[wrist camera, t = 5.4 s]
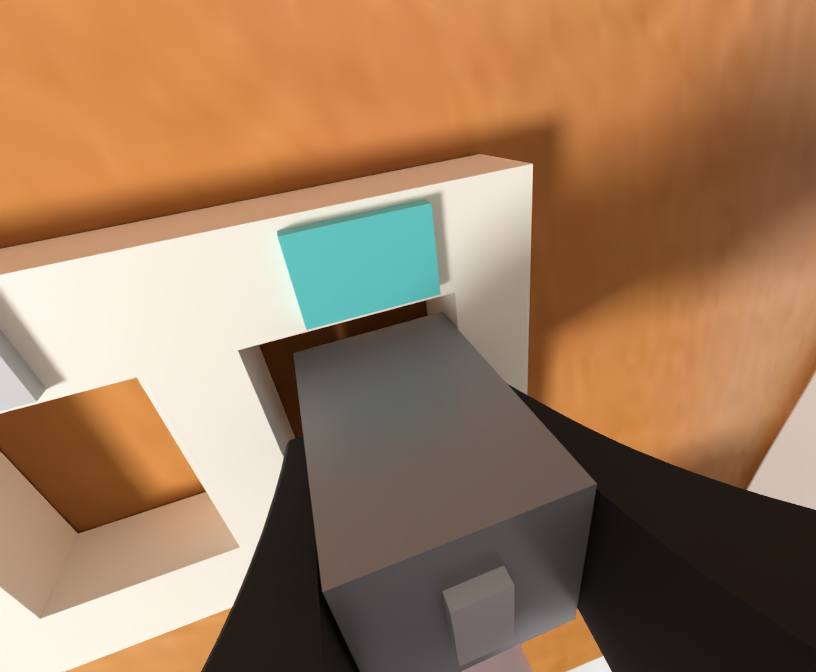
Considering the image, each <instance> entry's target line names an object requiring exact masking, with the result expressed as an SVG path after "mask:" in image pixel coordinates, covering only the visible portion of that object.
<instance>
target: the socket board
mask: <svg viewBox="0 0 816 672" xmlns="http://www.w3.org/2000/svg"><path fill="white" fill-rule="evenodd" d="M532 182H533V164H532V163H527V162H521V161H516V160H511V159H505V158H500V157H494V156H489V155H484V154H477V155H472V156H467V157H462V158H457V159H452V160H447V161H442V162H437V163H432V164H427V165H422V166H416V167H411V168H406V169H401V170H396V171H391V172H386V173H381V174H376V175H371V176H366V177H361V178H356V179H351V180H346V181H341V182H336V183H330V184H325V185H320V186H315V187H310V188H305V189H300V190H295V191H290V192H285V193H280V194H275V195H270V196H265V197H260V198H255V199H250V200H244V201H239V202H234V203H229V204H224V205H219V206H214V207H209V208H204V209H199V210H194V211H189V212H184V213H179V214H174V215H169V216H164V217H159V218H153V219H148V220H143V221H138V222H133V223H128V224H123V225H118V226H113V227H108V228H103V229H98V230H93V231H88V232H83V233H78V234H73V235H67V236H62V237H57V238H52V239H47V240H42V241H37V242H32V243H27V244H22V245H17V246H12V247H7V248H2V249H0V414H1V413H4V412H8V411H12V410H16V409H19V408H23V407H27V406H31V405H34V404H38V403H42V402H46V401H49V400H53V399H57V398H61V397H64V396H68V395H72V394H76V393H79V392H83V391H87V390H91V389H94V388H98V387H102V386H106V385H109V384H113V383H117V382H121V381H124V380H128V379H132V378H136V377H137V379H138V380H139V382H140V384H141V385H142V387H143V389H144V390H145V392H146V394H147V395H148V397H149V398H150V400H151V402H152V403H153V405H154V407H155V408H156V410H157V412H158V413H159V415H160V417H161V418H162V420H163V421H164V423H165V425H166V426H167V428H168V430H169V431H170V433H171V435H172V436H173V438H174V440H175V441H176V443H177V444H178V446H179V448H180V449H181V451H182V453H183V454H184V456H185V458H186V459H187V461H188V463H189V464H190V466H191V467H192V469H193V471H194V472H195V474H196V476H197V477H198V479H199V481H200V482H201V484H202V485H203V487H204V489H205V490H206V492H204V493H201V494H198V495H195V496H192V497H188V498H185V499H182V500H179V501H176V502H173V503H170V504H167V505H164V506H161V507H158V508H155V509H152V510H149V511H146V512H143V513H140V514H136V515H133V516H130V517H127V518H124V519H121V520H118V521H115V522H112V523H109V524H106V525H103V526H100V527H97V528H94V529H91V530H88V531H84V532H81V533H77V532H76V531H75V530H74V529H73V528H72V527H71V526H70V525H69V524H68V523H67V522H66V520H65V519H64V518H63V517H62V516H61V515H60V514H59V513H58V512H57V511H56V510H55V509H54V508H53V507H52V506H51V505H50V503H49V502H48V501H47V500H46V499H45V498H44V497H43V496H42V495H41V494H40V493H39V492H38V491H37V490H36V489H35V488H34V487H33V485H32V484H31V483H30V482H29V481H28V480H27V479H26V478H25V477H24V476H23V475H22V474H21V473H20V472H19V471H18V470H17V468H16V467H15V466H14V465H13V464H12V463H11V462H10V461H9V460H8V459H7V458H6V457H5V456H4V455H3V454H2V453H1V452H0V672H65V671H67V670H70V669H72V668H75V667H78V666H80V665H83V664H85V663H88V662H91V661H93V660H96V659H99V658H101V657H104V656H106V655H109V654H112V653H114V652H117V651H119V650H122V649H125V648H127V647H130V646H132V645H135V644H138V643H140V642H143V641H145V640H148V639H151V638H153V637H156V636H158V635H161V634H164V633H166V632H169V631H171V630H174V629H177V628H179V627H182V626H184V625H187V624H190V623H192V622H195V621H197V620H200V619H203V618H205V617H208V616H210V615H213V614H216V613H218V612H221V611H224V610H226V609H229V608H231V607H232V606H233V604H234V602H235V599H236V597H237V595H238V592H239V590H240V588H241V585H242V583H243V581H244V578H245V576H246V573H247V570H248V568H249V565H250V563H251V560H252V557H253V555H254V552H255V549H256V547H257V544H258V541H259V539H260V536H261V533H262V531H263V528H264V525H265V522H266V518H267V515H268V512H269V509H270V506H271V503H272V500H273V497H274V493H275V490H276V486H277V483H278V479H279V475H280V471H281V467H282V463H283V458H284V454H285V448H286V445H287V443H288V442H289V440H291V439H295V436H294V433H293V431H292V428H291V426H290V423H289V420H288V418H287V415H286V413H285V410H284V408H283V405H282V403H281V400H280V397H279V395H278V392H277V390H276V387H275V385H274V382H273V379H272V377H271V374H270V372H269V369H268V367H267V364H266V362H265V359H264V356H263V354H262V351H261V349H260V346H259V345H260V344H263V343H267V342H271V341H275V340H278V339H282V338H286V337H290V336H293V335H297V334H301V333H305V332H308V331H312V330H316V329H320V328H323V327H327V326H331V325H335V324H338V323H342V322H346V321H350V320H353V319H357V318H361V317H365V316H369V315H372V314H376V313H380V312H384V311H387V310H391V309H395V308H399V307H402V306H406V305H410V304H414V303H417V302H421V301H425V300H426V307H427V315H428V316H429V315H433V314H436V313H440V312H443V313H444V314H445V315H446V317H447V318H448V319H449V320H450V321H451V322H452V323H453V324H454V325H455V327H456V328H457V329H458V330H459V331H460V332H461V333H462V334H463V335H464V337H465V338H466V339H467V340H468V341H469V342H470V343H471V344H472V345H473V347H474V348H475V349H476V350H477V351H478V352H479V353H480V354H481V355H482V357H483V358H484V359H485V360H486V361H487V362H488V363H489V364H490V365H491V367H492V368H493V369H494V370H495V371H496V372H497V373H498V374H499V375H500V377H501V378H502V379H503V380H504V381H505V382H506V383H507V384H509V385H511V386H512V387H514V388H516V389H518V390H519V391H521V392H523V393H524V394H526V395H527V387H528V346H529V305H530V264H531V223H532Z"/></svg>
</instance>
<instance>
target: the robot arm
mask: <svg viewBox="0 0 816 672" xmlns="http://www.w3.org/2000/svg"><path fill="white" fill-rule="evenodd" d="M508 385H509V384H508ZM509 387H510V388H511V389H512V390H513V391H514V392H515V393H516V394H517V395H518V397H519V398H520V399H521V400H522V401H523V402H524V403H525V404H526V405H527V407H528V408H529V409H530V410H531V411H532V412H533V413H534V414H535V415H536V417H537V418H538V419H539V420H540V421H541V422H542V423H543V424H544V425H545V426H546V428H547V429H548V430H549V431H550V432H551V433H552V434H553V435H554V436H555V438H556V439H557V440H558V441H559V442H560V443H561V444H562V445H563V446H564V448H565V449H566V450H567V451H568V452H569V453H570V454H571V455H572V456H573V458H574V459H575V460H576V461H577V462H578V463H579V464H580V465H581V466H582V468H583V469H584V470H585V471H586V472H587V473H588V474H589V475H590V476H591V478H592V479H593V480H594V481H595V482H596V483H597V487H596V493H595V500H594V506H593V512H592V518H591V524H590V530H589V536H588V543H587V549H586V555H585V561H584V567H583V573H582V579H581V585H580V592H579V598H578V604H577V608H578V610H579V611H580V613H581V615H582V617H583V619H584V620H585V622H586V624H587V626H588V628H589V630H590V632H591V633H592V635H593V637H594V639H595V641H596V643H597V645H598V646H599V648H600V650H601V652H602V654H603V656H604V658H605V659H606V661H607V663H608V665H609V667H610V669H611V671H612V672H816V510H814V509H810V508H806V507H803V506H799V505H796V504H792V503H789V502H785V501H781V500H777V499H774V498H770V497H767V496H764V495H760V494H757V493H754V492H751V491H747V490H744V489H741V488H738V487H735V486H732V485H729V484H726V483H723V482H720V481H717V480H714V479H711V478H708V477H705V476H702V475H699V474H696V473H693V472H690V471H688V470H685V469H682V468H679V467H677V466H674V465H671V464H669V463H666V462H664V461H662V460H659V459H657V458H654V457H652V456H649V455H647V454H644V453H642V452H639V451H637V450H634V449H632V448H630V447H628V446H625V445H623V444H621V443H618V442H616V441H614V440H612V439H610V438H608V437H606V436H604V435H602V434H600V433H597V432H595V431H593V430H591V429H589V428H587V427H585V426H583V425H581V424H579V423H577V422H575V421H573V420H571V419H570V418H568V417H566V416H564V415H562V414H560V413H558V412H556V411H555V410H553V409H551V408H549V407H547V406H546V405H544V404H542V403H540V402H538V401H537V400H535V399H533V398H531V397H530V396H528V395H526V394H524V393H523V392H521V391H519V390H518V389H516V388H514V387H512V386H511V385H509ZM201 672H360V671H359V668H358V666H357V664H356V662H355V660H354V658H353V656H352V654H351V652H350V649H349V647H348V645H347V643H346V641H345V639H344V637H343V635H342V633H341V630H340V628H339V626H338V624H337V622H336V620H335V618H334V616H333V614H332V612H331V609H330V607H329V605H328V603H327V601H326V599H325V597H324V595H323V593H322V585H321V577H320V569H319V561H318V552H317V544H316V536H315V528H314V520H313V511H312V503H311V495H310V487H309V479H308V470H307V462H306V454H305V446H304V437H303V436H301V437H298V438H295V439H291V440H289V442H288V443H287V445H286V448H285V454H284V458H283V463H282V467H281V471H280V475H279V479H278V483H277V486H276V490H275V493H274V497H273V500H272V503H271V506H270V509H269V512H268V515H267V518H266V522H265V525H264V528H263V531H262V533H261V536H260V539H259V541H258V544H257V547H256V549H255V552H254V555H253V557H252V560H251V563H250V565H249V568H248V570H247V573H246V576H245V578H244V581H243V583H242V585H241V588H240V590H239V592H238V595H237V597H236V599H235V602H234V604H233V606H232V609H231V611H230V613H229V615H228V617H227V620H226V622H225V624H224V626H223V628H222V630H221V633H220V635H219V637H218V639H217V641H216V643H215V645H214V647H213V649H212V651H211V653H210V655H209V657H208V659H207V661H206V663H205V665H204V667H203V669H202V671H201ZM461 672H533V670H532V668H531V666H530V664H529V662H528V660H527V658H526V656H525V654H524V652H523V650H522V647H521V645H520V644H519V645H517V646H515V647H513V648H511V649H508V650H506V651H504V652H502V653H500V654H498V655H496V656H493V657H491V658H489V659H487V660H485V661H483V662H480V663H478V664H476V665H474V666H472V667H470V668H467V669H465V670H463V671H461Z"/></svg>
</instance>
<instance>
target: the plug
mask: <svg viewBox="0 0 816 672" xmlns="http://www.w3.org/2000/svg"><path fill="white" fill-rule="evenodd" d="M293 355H294V364H295V372H296V380H297V388H298V396H299V405H300V413H301V421H302V429H303V437H304V446H305V454H306V462H307V470H308V479H309V487H310V495H311V503H312V511H313V520H314V528H315V536H316V544H317V552H318V561H319V569H320V577H321V585H322V593H323V595H324V597H325V599H326V601H327V603H328V605H329V607H330V609H331V612H332V614H333V616H334V618H335V620H336V622H337V624H338V626H339V628H340V630H341V633H342V635H343V637H344V639H345V641H346V643H347V645H348V647H349V649H350V652H351V654H352V656H353V658H354V660H355V662H356V664H357V666H358V668H359V671H360V672H461V671H463V670H465V669H467V668H470V667H472V666H474V665H476V664H478V663H480V662H483V661H485V660H487V659H489V658H491V657H493V656H496V655H498V654H500V653H502V652H504V651H506V650H508V649H511V648H513V647H515V646H517V645H519V644H521V643H524V642H526V641H528V640H530V639H532V638H534V637H536V636H539V635H541V634H543V633H545V632H547V631H549V630H552V629H554V628H556V627H558V626H560V625H562V624H565V623H567V622H569V621H571V620H573V619H575V616H576V610H577V604H578V598H579V592H580V585H581V579H582V573H583V567H584V561H585V555H586V549H587V543H588V536H589V530H590V524H591V518H592V512H593V506H594V500H595V493H596V487H597V483H596V482H595V481H594V480H593V479H592V478H591V476H590V475H589V474H588V473H587V472H586V471H585V470H584V469H583V468H582V466H581V465H580V464H579V463H578V462H577V461H576V460H575V459H574V458H573V456H572V455H571V454H570V453H569V452H568V451H567V450H566V449H565V448H564V446H563V445H562V444H561V443H560V442H559V441H558V440H557V439H556V438H555V436H554V435H553V434H552V433H551V432H550V431H549V430H548V429H547V428H546V426H545V425H544V424H543V423H542V422H541V421H540V420H539V419H538V418H537V417H536V415H535V414H534V413H533V412H532V411H531V410H530V409H529V408H528V407H527V405H526V404H525V403H524V402H523V401H522V400H521V399H520V398H519V397H518V395H517V394H516V393H515V392H514V391H513V390H512V389H511V388H510V387H509V385H508V384H507V383H506V382H505V381H504V380H503V379H502V378H501V377H500V375H499V374H498V373H497V372H496V371H495V370H494V369H493V368H492V367H491V365H490V364H489V363H488V362H487V361H486V360H485V359H484V358H483V357H482V355H481V354H480V353H479V352H478V351H477V350H476V349H475V348H474V347H473V345H472V344H471V343H470V342H469V341H468V340H467V339H466V338H465V337H464V335H463V334H462V333H461V332H460V331H459V330H458V329H457V328H456V327H455V325H454V324H453V323H452V322H451V321H450V320H449V319H448V318H447V317H446V315H445V314H444V313H443V312H440V313H436V314H433V315H429V316H425V317H422V318H418V319H414V320H411V321H407V322H404V323H400V324H396V325H393V326H389V327H385V328H382V329H378V330H375V331H371V332H367V333H364V334H360V335H356V336H353V337H349V338H345V339H342V340H338V341H335V342H331V343H327V344H324V345H320V346H316V347H313V348H309V349H306V350H302V351H298V352H295V353H293Z"/></svg>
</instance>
